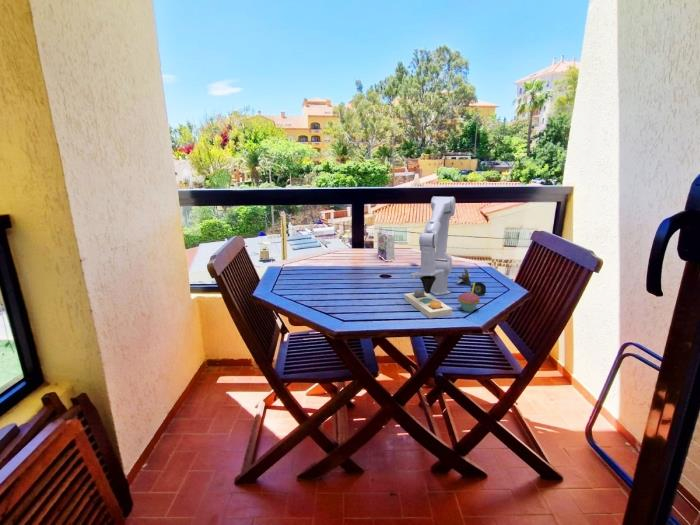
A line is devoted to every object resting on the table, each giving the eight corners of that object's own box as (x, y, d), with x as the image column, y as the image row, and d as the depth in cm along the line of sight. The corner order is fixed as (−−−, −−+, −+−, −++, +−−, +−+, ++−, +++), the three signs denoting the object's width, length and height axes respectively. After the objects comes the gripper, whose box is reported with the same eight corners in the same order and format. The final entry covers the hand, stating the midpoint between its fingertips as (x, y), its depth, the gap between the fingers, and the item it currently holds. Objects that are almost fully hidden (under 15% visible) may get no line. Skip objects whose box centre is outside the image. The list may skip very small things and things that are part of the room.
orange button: (427, 307, 160) (428, 301, 160) (437, 306, 162) (437, 300, 161) (433, 311, 156) (433, 305, 156) (443, 309, 157) (443, 303, 157)
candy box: (377, 256, 249) (377, 231, 245) (385, 256, 251) (385, 230, 247) (385, 262, 237) (385, 235, 232) (394, 261, 238) (394, 234, 234)
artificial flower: (468, 299, 176) (462, 279, 175) (457, 289, 198) (452, 270, 197) (488, 294, 175) (482, 273, 174) (474, 284, 197) (469, 265, 196)
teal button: (419, 304, 167) (419, 298, 166) (428, 303, 168) (429, 297, 168) (424, 308, 163) (424, 302, 162) (434, 306, 164) (434, 300, 164)
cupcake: (474, 304, 166) (476, 278, 162) (482, 313, 157) (484, 284, 154) (454, 306, 165) (456, 279, 162) (461, 314, 157) (463, 286, 153)
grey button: (412, 296, 173) (412, 291, 172) (421, 295, 174) (421, 289, 174) (417, 299, 169) (417, 294, 168) (426, 298, 170) (426, 292, 170)
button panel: (404, 299, 175) (404, 293, 174) (424, 296, 178) (424, 291, 177) (429, 318, 154) (429, 312, 153) (452, 314, 157) (452, 308, 156)
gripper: (416, 265, 155) (416, 298, 158) (448, 261, 159) (447, 293, 163) (408, 261, 161) (408, 292, 165) (439, 257, 165) (438, 288, 169)
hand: (427, 292), depth 164 cm, fingers closed
